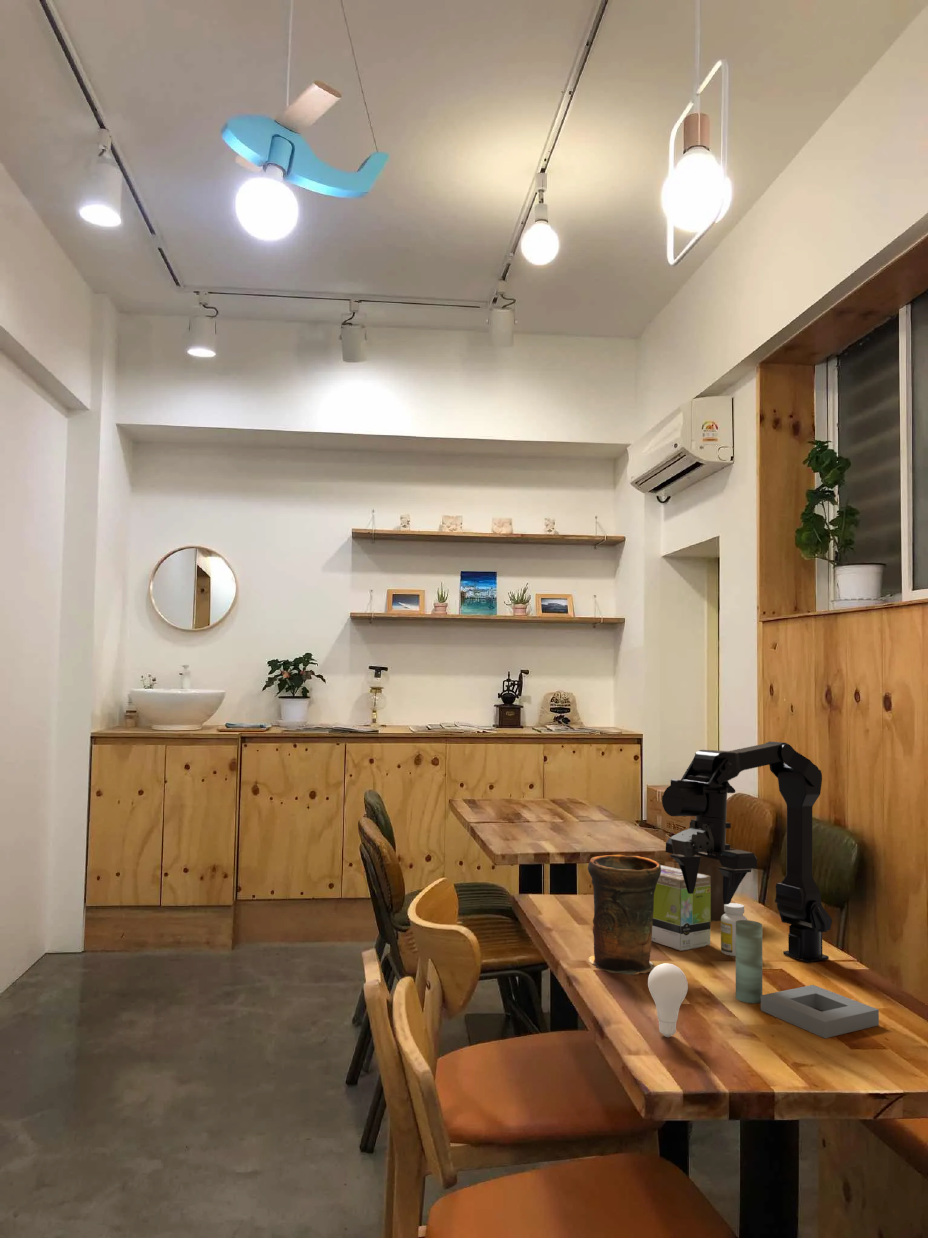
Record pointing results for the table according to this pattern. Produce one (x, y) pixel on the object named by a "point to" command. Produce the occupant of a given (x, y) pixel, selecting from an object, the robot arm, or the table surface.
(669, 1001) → the lightbulb
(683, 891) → the tea box
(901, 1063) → the table surface
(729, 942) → the supplement bottle
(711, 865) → the plant pot
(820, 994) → the holder board
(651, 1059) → the table surface
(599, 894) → the vessel
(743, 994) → the peg
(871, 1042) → the table surface
